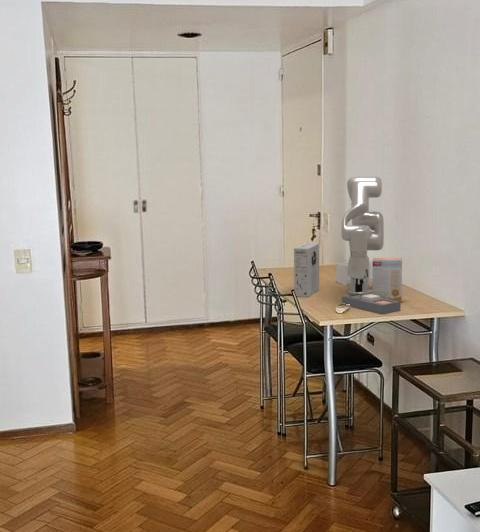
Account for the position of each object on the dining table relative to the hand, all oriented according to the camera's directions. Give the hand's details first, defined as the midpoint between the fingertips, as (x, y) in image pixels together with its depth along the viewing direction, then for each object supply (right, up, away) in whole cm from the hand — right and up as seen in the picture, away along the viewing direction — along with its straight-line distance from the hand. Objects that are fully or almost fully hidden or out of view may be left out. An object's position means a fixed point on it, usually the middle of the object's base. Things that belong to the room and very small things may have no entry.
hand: (358, 291), depth 332 cm
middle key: (+4, -4, -7) cm, 9 cm away
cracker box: (+15, -5, +6) cm, 17 cm away
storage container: (+11, +3, +55) cm, 56 cm away
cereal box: (-22, -2, +30) cm, 37 cm away
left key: (0, -5, 0) cm, 5 cm away
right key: (+9, -7, -13) cm, 17 cm away
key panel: (+4, -7, -7) cm, 11 cm away
